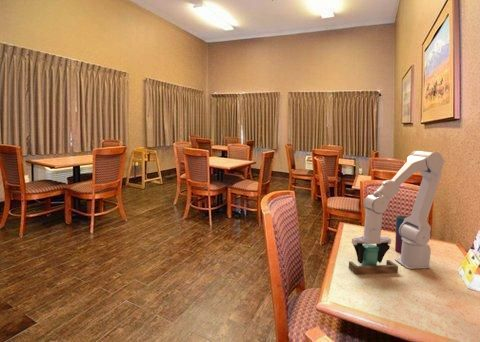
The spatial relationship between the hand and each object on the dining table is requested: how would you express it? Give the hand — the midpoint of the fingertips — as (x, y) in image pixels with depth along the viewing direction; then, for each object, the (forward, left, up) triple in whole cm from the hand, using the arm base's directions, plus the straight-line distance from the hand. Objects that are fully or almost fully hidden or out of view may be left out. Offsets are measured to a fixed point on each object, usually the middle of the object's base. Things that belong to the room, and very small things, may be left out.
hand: (369, 262), depth 111 cm
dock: (0, +3, -2) cm, 3 cm away
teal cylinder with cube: (0, -1, -2) cm, 2 cm away
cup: (-23, -13, -2) cm, 27 cm away
